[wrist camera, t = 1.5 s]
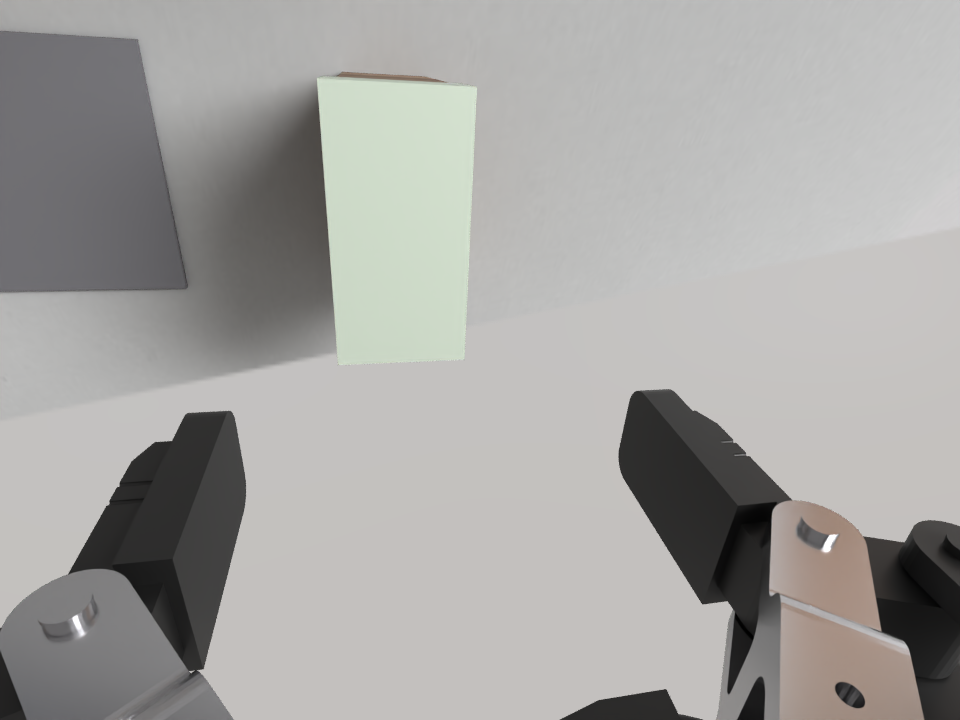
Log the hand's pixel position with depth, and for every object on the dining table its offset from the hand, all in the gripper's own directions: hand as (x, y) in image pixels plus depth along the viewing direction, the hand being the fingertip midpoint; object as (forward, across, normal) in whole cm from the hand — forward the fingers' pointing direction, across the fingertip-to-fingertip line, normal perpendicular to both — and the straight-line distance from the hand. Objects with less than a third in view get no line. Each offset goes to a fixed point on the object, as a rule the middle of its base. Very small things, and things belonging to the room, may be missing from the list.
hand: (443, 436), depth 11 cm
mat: (+28, +19, 0) cm, 34 cm away
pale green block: (+18, 0, 0) cm, 18 cm away
